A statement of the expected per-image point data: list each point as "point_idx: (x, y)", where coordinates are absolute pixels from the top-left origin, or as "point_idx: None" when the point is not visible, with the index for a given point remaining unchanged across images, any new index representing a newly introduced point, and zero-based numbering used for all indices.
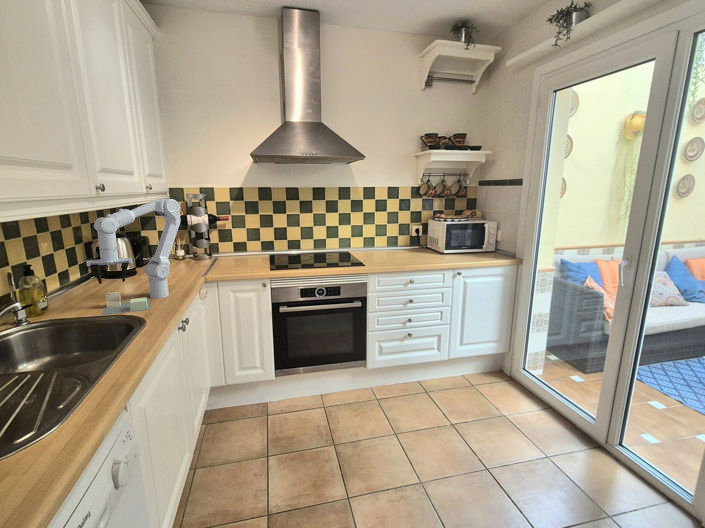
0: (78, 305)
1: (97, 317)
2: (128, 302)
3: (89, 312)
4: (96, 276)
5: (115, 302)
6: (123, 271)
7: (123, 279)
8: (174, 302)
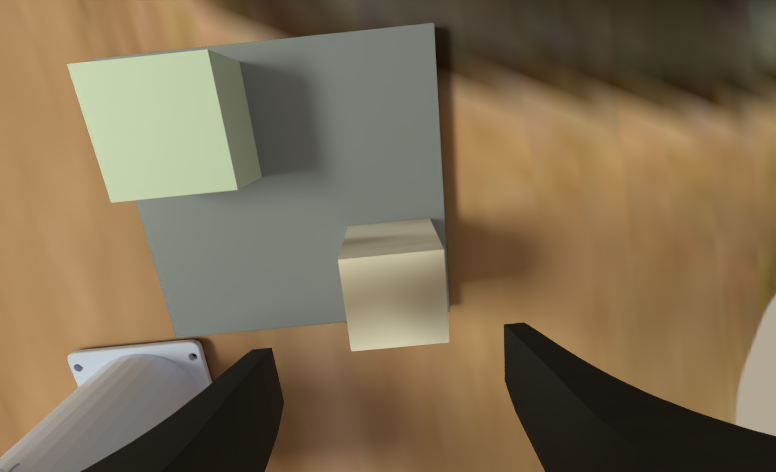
0: (610, 373)
1: (458, 44)
2: (316, 311)
3: (529, 195)
4: (599, 369)
5: (373, 234)
6: (157, 447)
7: (244, 362)
8: (8, 256)
